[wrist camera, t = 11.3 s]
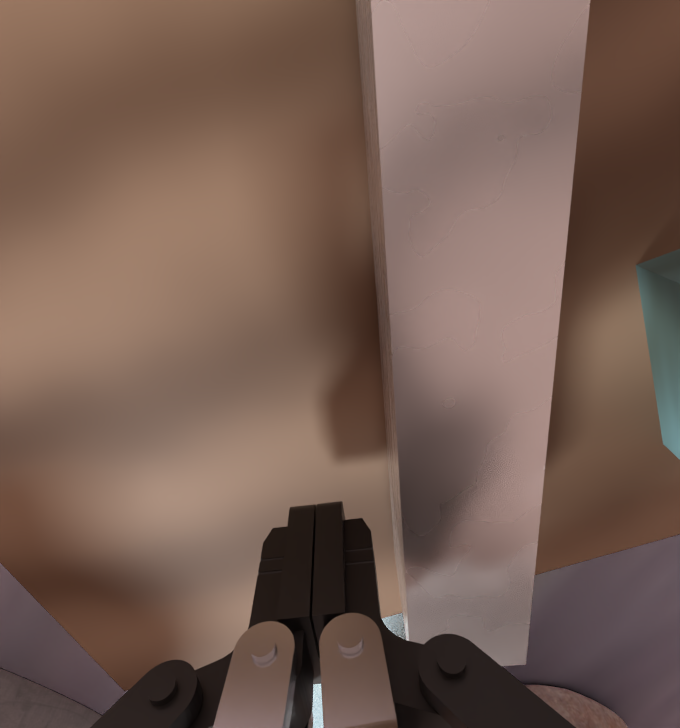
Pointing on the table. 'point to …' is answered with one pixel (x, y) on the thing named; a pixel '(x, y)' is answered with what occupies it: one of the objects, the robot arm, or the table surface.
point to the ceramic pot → (578, 708)
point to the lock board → (278, 308)
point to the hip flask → (39, 706)
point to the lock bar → (469, 290)
